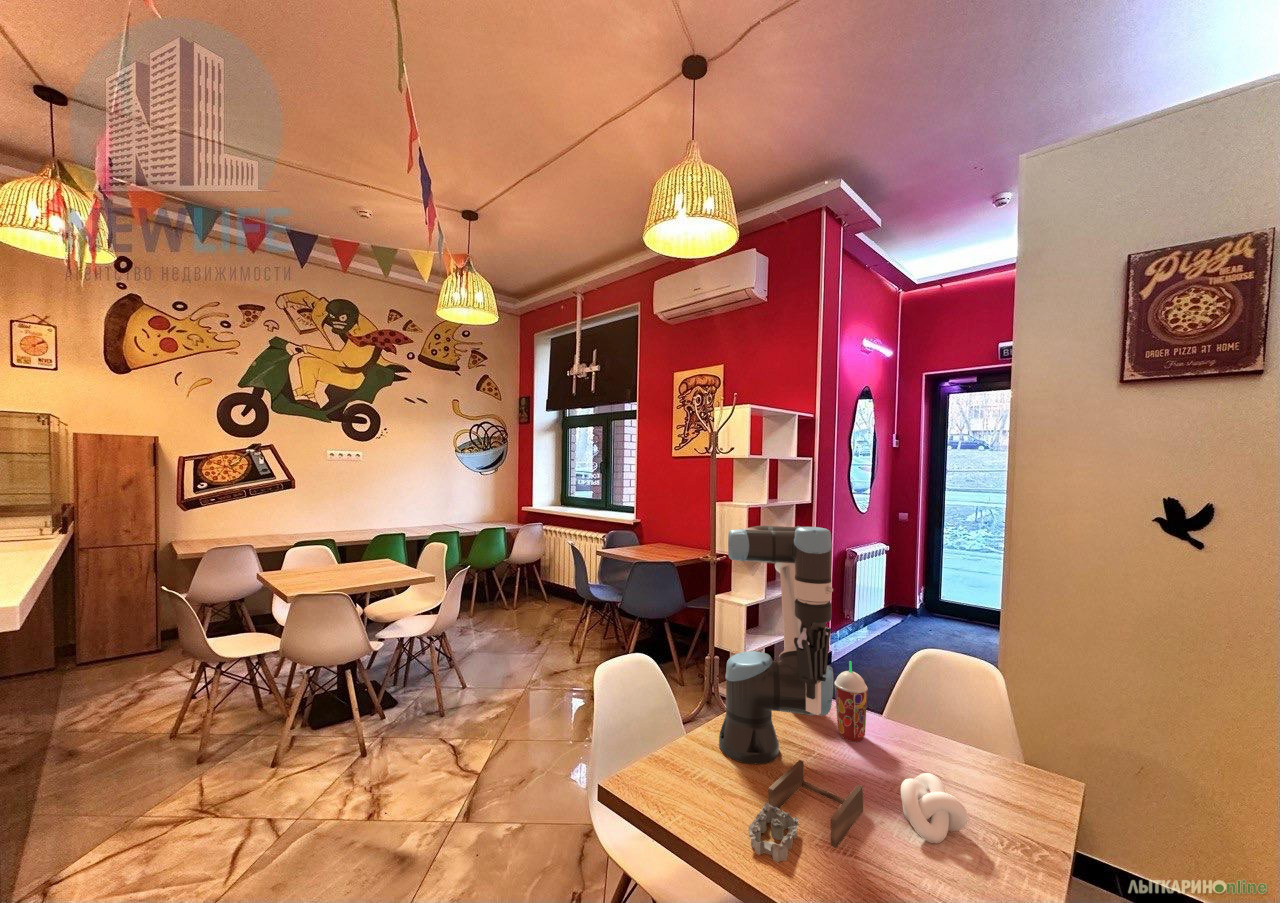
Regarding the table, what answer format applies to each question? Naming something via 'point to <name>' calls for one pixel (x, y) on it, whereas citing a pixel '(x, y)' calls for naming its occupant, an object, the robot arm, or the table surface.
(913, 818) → the white knot sculpture
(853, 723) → the smoothie
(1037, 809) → the table surface
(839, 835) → the brown u-shaped frame
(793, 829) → the egg carton
